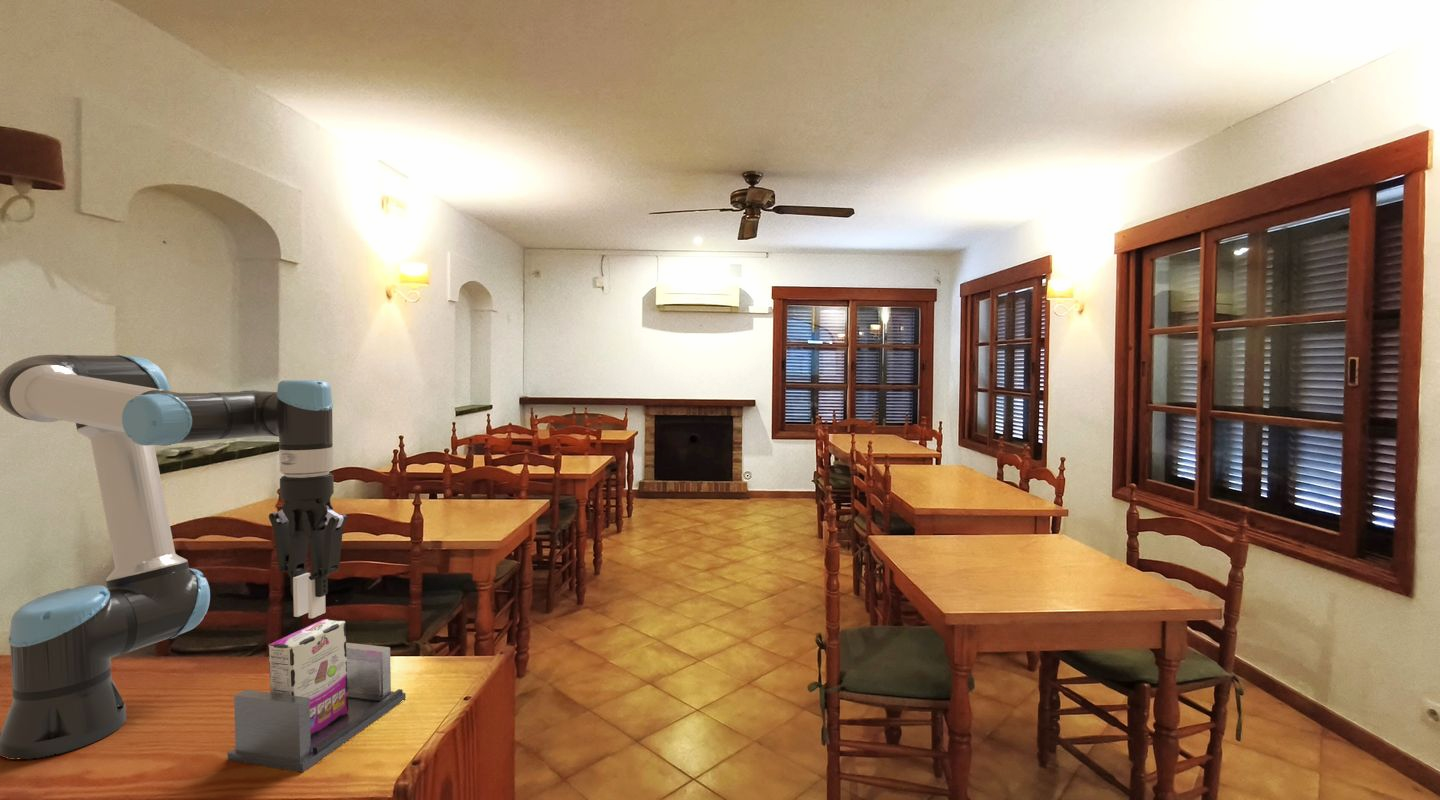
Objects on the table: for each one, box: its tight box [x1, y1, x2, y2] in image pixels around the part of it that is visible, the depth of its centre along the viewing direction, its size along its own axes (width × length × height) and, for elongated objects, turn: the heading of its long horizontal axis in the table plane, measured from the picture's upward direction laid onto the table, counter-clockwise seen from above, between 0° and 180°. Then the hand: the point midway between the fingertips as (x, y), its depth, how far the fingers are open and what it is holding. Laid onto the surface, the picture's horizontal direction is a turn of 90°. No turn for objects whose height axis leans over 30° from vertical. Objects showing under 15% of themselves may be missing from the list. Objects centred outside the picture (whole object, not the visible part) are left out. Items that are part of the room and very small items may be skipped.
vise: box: [226, 688, 406, 773], centre depth 113 cm, size 14×23×10 cm, turn 168°
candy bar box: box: [268, 618, 349, 737], centre depth 110 cm, size 11×5×16 cm, turn 167°
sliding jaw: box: [346, 642, 392, 701], centre depth 124 cm, size 11×8×9 cm
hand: (309, 614), depth 110 cm, fingers open, 2 cm apart
